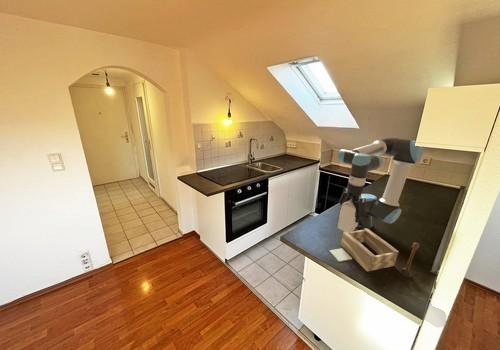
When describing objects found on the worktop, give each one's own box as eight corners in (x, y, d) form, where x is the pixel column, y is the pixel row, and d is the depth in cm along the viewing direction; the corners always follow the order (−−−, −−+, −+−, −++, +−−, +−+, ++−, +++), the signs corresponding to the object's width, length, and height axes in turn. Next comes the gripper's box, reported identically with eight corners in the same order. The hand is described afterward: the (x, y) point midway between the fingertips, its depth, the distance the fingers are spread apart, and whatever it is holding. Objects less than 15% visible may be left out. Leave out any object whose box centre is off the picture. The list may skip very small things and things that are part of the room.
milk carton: (337, 228, 115) (343, 197, 108) (342, 223, 120) (348, 193, 113) (350, 234, 110) (357, 202, 104) (355, 228, 115) (362, 198, 108)
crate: (364, 241, 134) (367, 228, 131) (393, 265, 114) (398, 251, 111) (340, 244, 130) (343, 231, 127) (367, 271, 110) (371, 256, 107)
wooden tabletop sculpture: (402, 268, 113) (413, 238, 106) (412, 274, 109) (424, 243, 102) (398, 273, 109) (409, 242, 102) (408, 279, 106) (420, 247, 99)
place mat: (342, 248, 126) (342, 248, 126) (352, 259, 118) (352, 258, 118) (329, 251, 124) (329, 250, 124) (338, 261, 116) (338, 261, 116)
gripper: (336, 176, 115) (329, 212, 122) (366, 193, 95) (356, 234, 102) (347, 176, 117) (340, 210, 124) (379, 192, 97) (369, 232, 104)
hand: (347, 221), depth 113 cm, fingers closed on milk carton, 10 cm apart
